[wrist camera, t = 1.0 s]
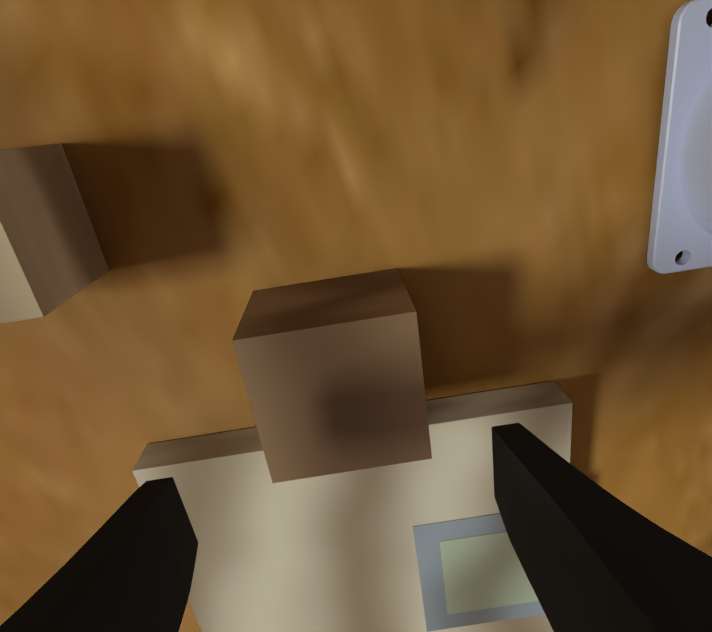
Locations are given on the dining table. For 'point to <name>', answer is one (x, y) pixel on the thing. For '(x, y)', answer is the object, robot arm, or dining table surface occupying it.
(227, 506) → the base board
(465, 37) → the dining table surface
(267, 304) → the walnut block
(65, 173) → the oak cube
